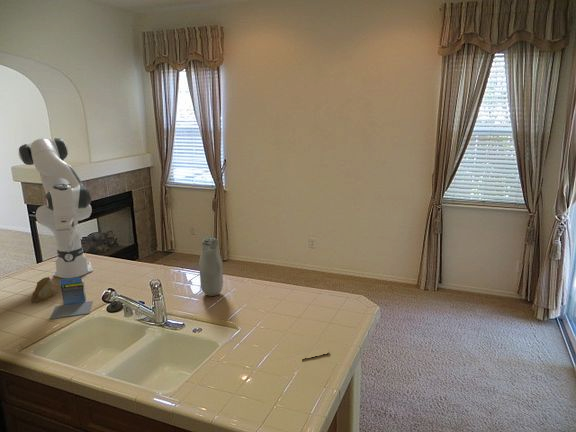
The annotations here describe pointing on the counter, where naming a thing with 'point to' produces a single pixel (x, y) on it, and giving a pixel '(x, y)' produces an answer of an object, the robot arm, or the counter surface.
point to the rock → (42, 290)
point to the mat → (71, 310)
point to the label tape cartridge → (73, 291)
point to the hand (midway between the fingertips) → (70, 250)
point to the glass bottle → (211, 267)
